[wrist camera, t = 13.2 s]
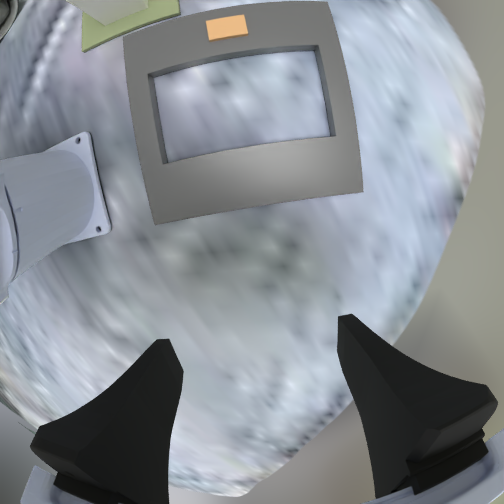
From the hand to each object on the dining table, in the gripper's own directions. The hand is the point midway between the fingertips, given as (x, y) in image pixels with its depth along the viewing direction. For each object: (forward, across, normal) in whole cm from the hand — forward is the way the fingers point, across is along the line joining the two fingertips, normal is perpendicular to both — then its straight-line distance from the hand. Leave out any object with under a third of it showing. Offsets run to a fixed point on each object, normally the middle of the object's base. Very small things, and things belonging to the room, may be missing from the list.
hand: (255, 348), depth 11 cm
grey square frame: (+9, -1, -11) cm, 15 cm away
